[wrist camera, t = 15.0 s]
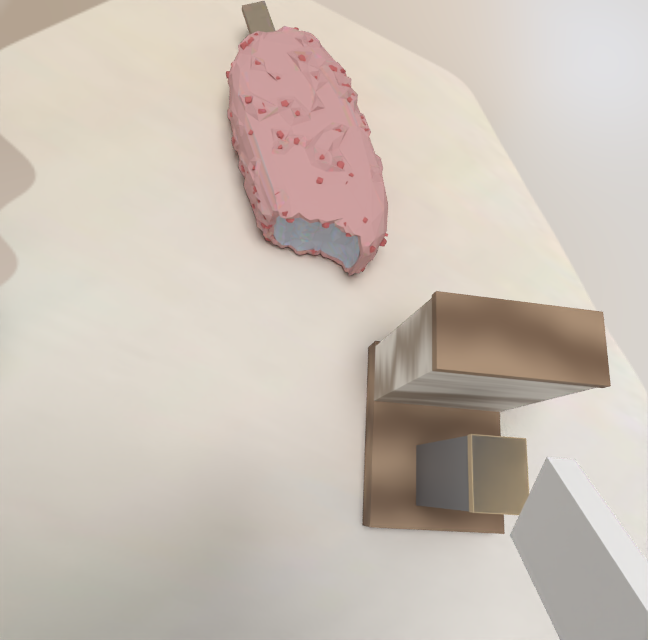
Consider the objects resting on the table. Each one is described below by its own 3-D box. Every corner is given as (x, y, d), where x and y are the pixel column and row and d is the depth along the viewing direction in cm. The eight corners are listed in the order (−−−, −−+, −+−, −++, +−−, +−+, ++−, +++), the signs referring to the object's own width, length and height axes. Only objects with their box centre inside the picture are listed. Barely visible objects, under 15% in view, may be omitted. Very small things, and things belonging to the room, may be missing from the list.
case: (460, 508, 47) (530, 515, 36) (415, 505, 46) (473, 512, 36) (459, 447, 48) (526, 438, 38) (415, 444, 48) (471, 434, 37)
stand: (491, 531, 49) (628, 555, 33) (361, 525, 47) (437, 547, 31) (486, 359, 54) (602, 306, 38) (367, 347, 52) (436, 285, 36)
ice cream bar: (319, -36, 53) (424, 236, 47) (305, 33, 61) (393, 273, 55) (189, -25, 50) (282, 269, 43) (193, 46, 58) (272, 303, 52)
